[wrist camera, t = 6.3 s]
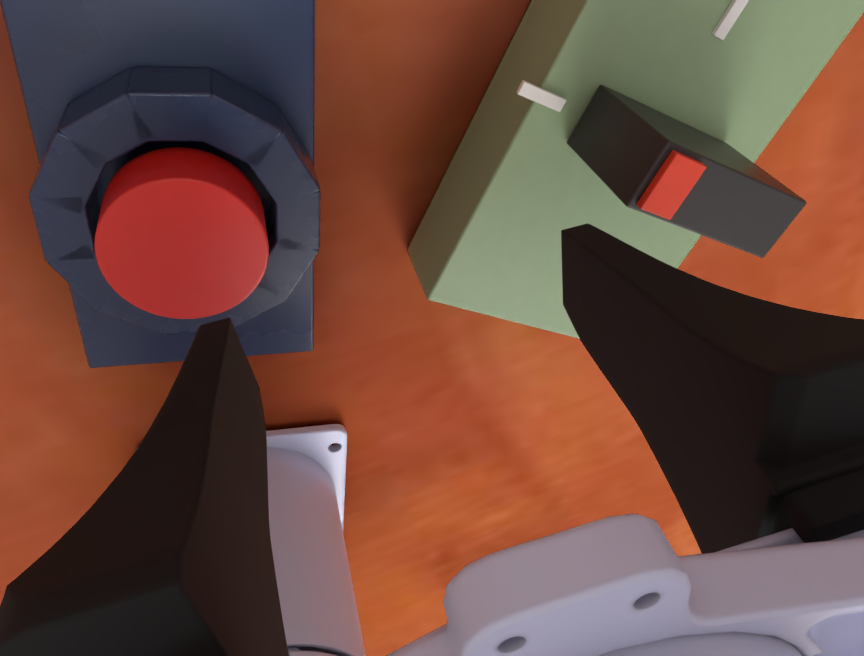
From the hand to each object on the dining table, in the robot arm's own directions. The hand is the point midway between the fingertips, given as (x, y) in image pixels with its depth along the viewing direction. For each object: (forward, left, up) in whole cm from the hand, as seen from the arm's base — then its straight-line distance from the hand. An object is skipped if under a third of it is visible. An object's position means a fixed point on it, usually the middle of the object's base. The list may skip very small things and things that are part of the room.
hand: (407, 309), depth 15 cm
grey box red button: (-1, +5, -9) cm, 10 cm away
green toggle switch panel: (+1, -8, -9) cm, 12 cm away
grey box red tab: (+1, -8, -6) cm, 10 cm away
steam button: (-1, +5, -5) cm, 7 cm away
